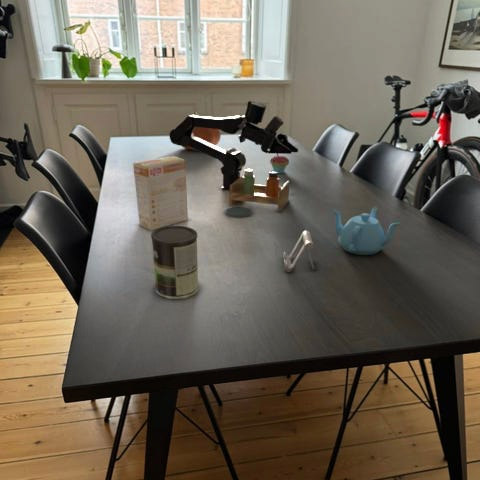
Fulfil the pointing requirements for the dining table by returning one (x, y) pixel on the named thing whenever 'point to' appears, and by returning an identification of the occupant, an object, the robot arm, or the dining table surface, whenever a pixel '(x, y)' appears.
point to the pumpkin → (206, 135)
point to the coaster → (238, 212)
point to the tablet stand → (306, 246)
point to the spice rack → (259, 194)
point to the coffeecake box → (161, 192)
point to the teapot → (363, 233)
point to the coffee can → (175, 261)
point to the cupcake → (279, 163)
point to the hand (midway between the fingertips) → (294, 151)
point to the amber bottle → (272, 184)
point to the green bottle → (248, 182)
